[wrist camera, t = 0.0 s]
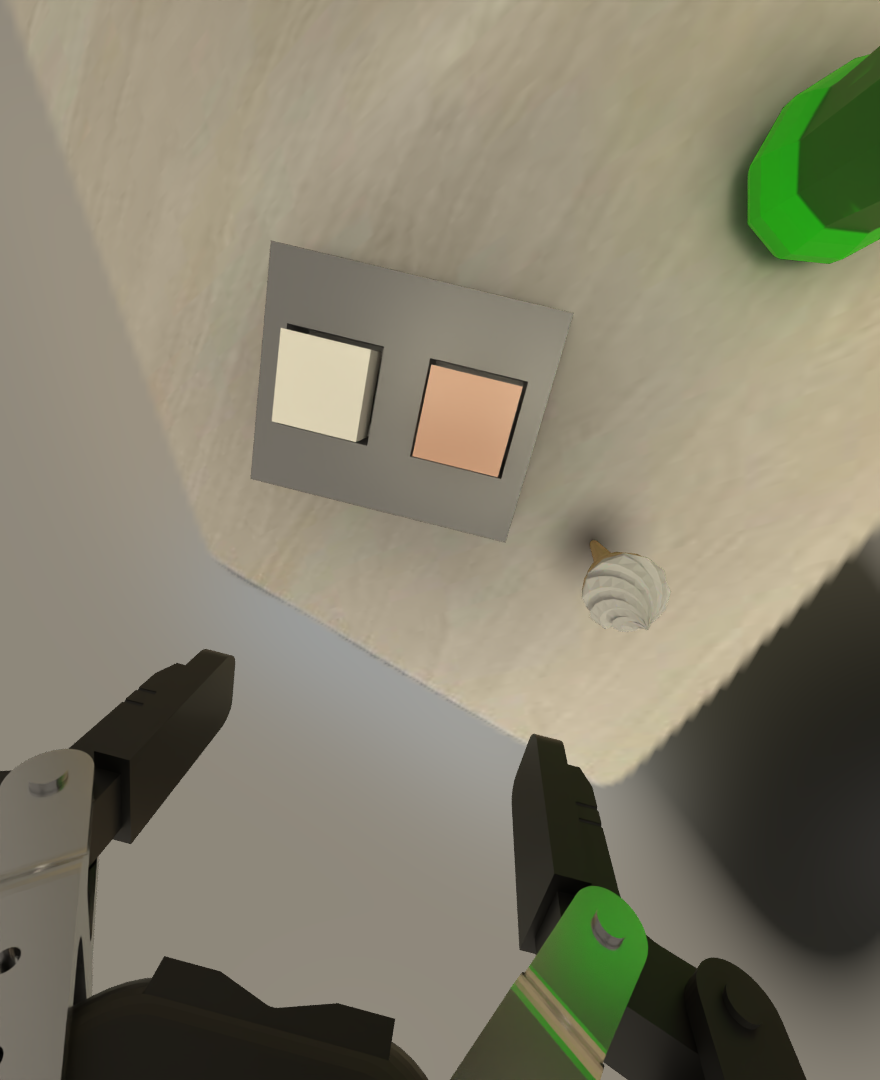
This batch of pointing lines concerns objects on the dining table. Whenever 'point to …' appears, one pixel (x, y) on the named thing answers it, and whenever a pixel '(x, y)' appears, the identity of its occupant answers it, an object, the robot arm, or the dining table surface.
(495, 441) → the terracotta key
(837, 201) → the plastic bottle
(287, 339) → the white key
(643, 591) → the ice cream cone
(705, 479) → the dining table surface
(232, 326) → the dining table surface
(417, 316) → the block
